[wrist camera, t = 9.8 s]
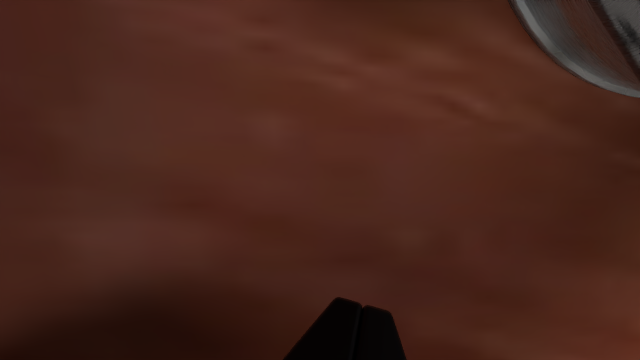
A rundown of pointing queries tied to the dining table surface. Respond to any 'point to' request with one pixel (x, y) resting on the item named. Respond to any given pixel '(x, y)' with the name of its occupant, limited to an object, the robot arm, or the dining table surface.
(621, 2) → the lid
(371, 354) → the robot arm
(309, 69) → the dining table surface
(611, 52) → the pot
